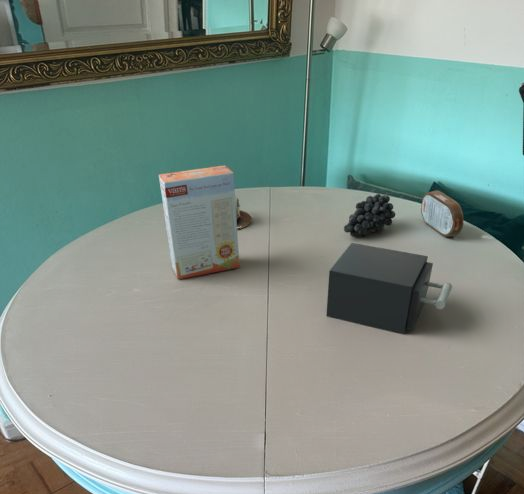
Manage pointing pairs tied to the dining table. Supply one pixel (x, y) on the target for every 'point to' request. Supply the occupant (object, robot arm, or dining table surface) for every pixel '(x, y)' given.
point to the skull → (241, 215)
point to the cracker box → (200, 220)
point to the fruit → (370, 215)
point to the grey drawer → (421, 292)
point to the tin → (442, 213)
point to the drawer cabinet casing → (373, 286)
